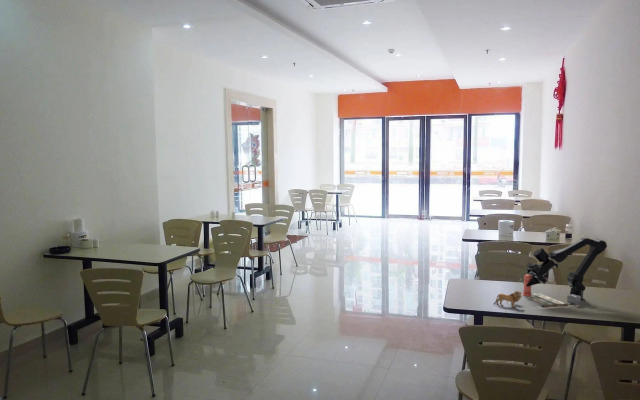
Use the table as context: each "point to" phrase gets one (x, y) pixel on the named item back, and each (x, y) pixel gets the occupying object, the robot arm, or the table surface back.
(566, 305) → the board
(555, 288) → the table surface
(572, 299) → the die
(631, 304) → the table surface
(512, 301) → the lion figurine
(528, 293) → the pawn
